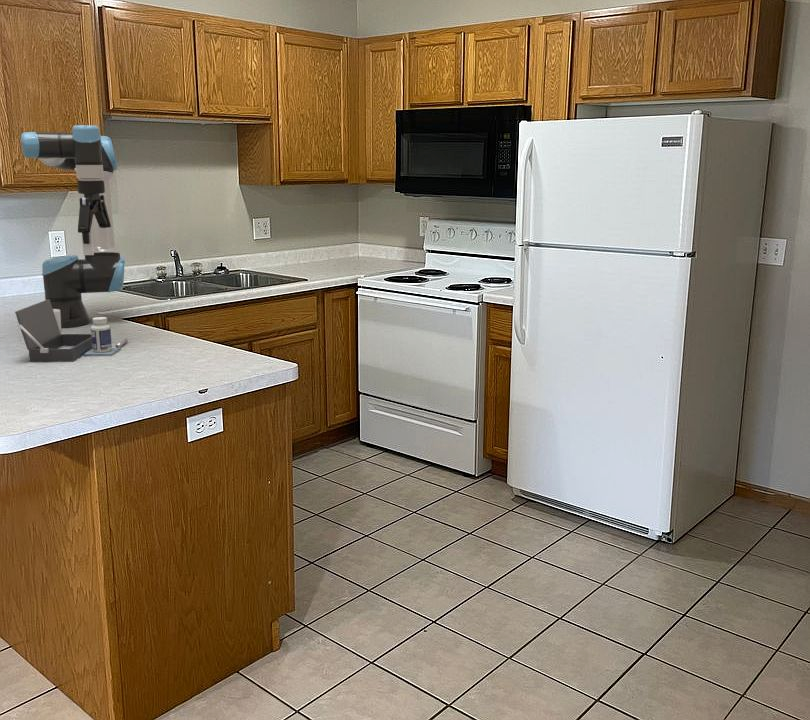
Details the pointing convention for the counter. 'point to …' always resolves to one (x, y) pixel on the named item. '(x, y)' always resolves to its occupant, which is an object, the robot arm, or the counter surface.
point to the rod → (122, 343)
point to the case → (49, 335)
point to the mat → (109, 353)
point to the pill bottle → (101, 335)
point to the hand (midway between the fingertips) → (96, 252)
